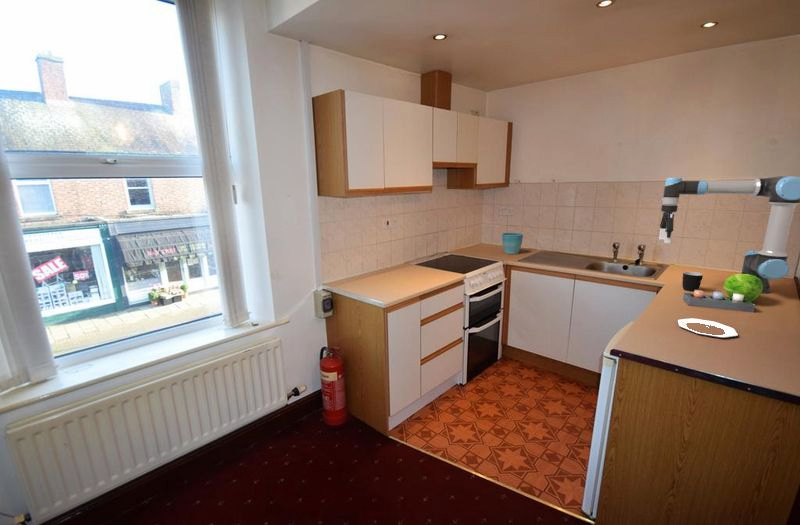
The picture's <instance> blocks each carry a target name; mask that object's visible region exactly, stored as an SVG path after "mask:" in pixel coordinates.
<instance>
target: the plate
mask: <svg viewBox="0 0 800 525" xmlns="http://www.w3.org/2000/svg"><path fill="white" fill-rule="evenodd" d="M677 323H678V327H680V328H681V329H683V330H684V329H685V330H686V331H690V332H692V333H694V334H697V335H701V336H707V337H713V338H718V339H719V338H721V339H726V338H727V339H728V338H734V337H738V336H739V334H738V333H737V331H736V330H735V328H733V327H730V326H729V325H725V324H722V323H720V322H717V321H713V320H706V319H700V318H694V317H693V318H692V317H691V318H683V319H682V318H681V319H677ZM687 323H700V324H705V325H709V326H710V325H711V326H715V327H717V328H721V329H723V330H724V332H725V334H723V335H712V334H706V333H700V332H697V331H694V330H692V329H689V328H688V327H687V325H686V324H687ZM706 327H708V326H706ZM708 328H709V327H708Z"/></svg>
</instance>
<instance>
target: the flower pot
mask: <svg viewBox="0 0 800 525" xmlns="http://www.w3.org/2000/svg"><path fill="white" fill-rule="evenodd" d="M523 238H524V233H519V232H504V233H503V232H502V233H501V240H502V246H503V249H504V254H507V255H510V254H511V255H517V254H519V253H520V249H521V246H522V244H523Z"/></svg>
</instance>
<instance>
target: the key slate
mask: <svg viewBox="0 0 800 525" xmlns="http://www.w3.org/2000/svg"><path fill="white" fill-rule="evenodd" d="M712 295H713V298H712V299H717V300H723V296H724V295H725V293H724V292H720V291H713V293H712Z"/></svg>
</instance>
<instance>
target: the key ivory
mask: <svg viewBox="0 0 800 525" xmlns="http://www.w3.org/2000/svg"><path fill="white" fill-rule="evenodd" d="M743 298H744V295H743V294H738V293H734V294H733V298H732V301H737V302H743Z"/></svg>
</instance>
